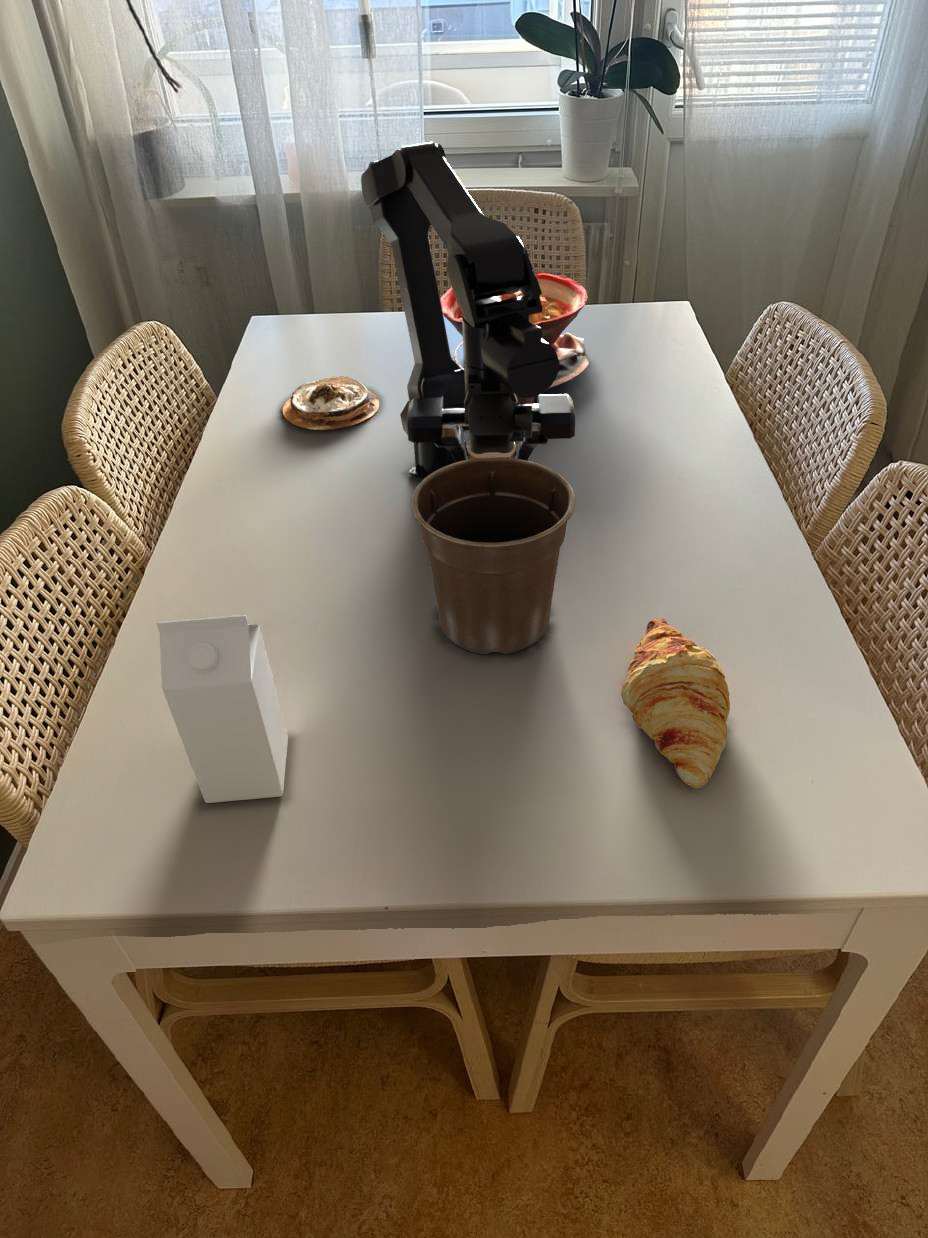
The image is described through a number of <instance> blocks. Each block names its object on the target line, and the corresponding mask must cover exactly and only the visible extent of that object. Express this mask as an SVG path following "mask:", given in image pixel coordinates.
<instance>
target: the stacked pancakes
mask: <svg viewBox="0 0 928 1238" xmlns="http://www.w3.org/2000/svg"><path fill="white" fill-rule="evenodd" d="M379 408H380V400H379V398H378V396H377V395H376V394H375V393H374V392H373V391H371V390H369V389H368V388H367V387H366V386H365V385H364V384H363V383H362V382H360V380H357V379H356V378H353V377H351V376H346V375H345V376H344V375H339V376H331V377H324V378H321V379H319V380H314V381H309V382H306V383H302V384H301V385H299V386H296V387H294V389H293V391H292V392H291V395H290V397H289V398H288V400H286V401H285V403H284V405H283V407H282V414H283V417H284V418H285V419H286V420H287V421H288V422H289V423H290V424H292V425H294V426H297V427H300V428H304V429H308V430H314V431H315V430H318V431H319V430H320V431H321V430H322V431H325V430H337V429H342V428H349V427H352V426H354V425H356V424H361V422H362V423H363V422H364V421H366V420H368V419H369V418H371V417H372V416H373V415H375V414H376V413H377V411H378V409H379Z"/></svg>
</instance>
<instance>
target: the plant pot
mask: <svg viewBox="0 0 928 1238" xmlns="http://www.w3.org/2000/svg"><path fill="white" fill-rule="evenodd" d="M412 494H413V495H412V499H411V509H412V513H413V515H414V518H415V520H416V521H417V523H418V525H419V529H420V534H421V539H422V543H423V544H424V547H425V548H426V549H427V554H428V560H429V566H430V571H431V577H432V582H433V588H434V594H435V599H436V607H437V611H438V619H439V624H440V628H441V630H442V632H443V634H444V635H445V636H446V637H447V639H448V640H450V641H451V642H452V643H453V644H455V645H456V646H458V647H460V648H462V649H464V650H466V651H468V652H471V653H475V654H480V655H486V656H487V655H489V654H491V653H501V654H503V655H509V654H513V653H514V654H515V653H516V652H520V651H522V650H523V651H524V650H525V649H527V648H529V647H531V646H533V645H534V644H535V643H536V642H537V641H539V640H540V639H541V638H542V637H543V635H544V634H545V633H546V631H547V629H548V628H549V625H550V617H551V610H552V603H553V602H552V601H553V595H554V589H555V582H556V578H557V577H556V576H557V570H558V566H559V565H558V564H559V560H560V553H561V547H563V546H562V545H563V544H564V542H565V539H566V534H567V527H568V521H570V519H571V517H572V515H573V513H574V510H575V505H576V496H575V495H576V494H575V491H574V490H573V487H572V486H571V484H570V482H569V481H568V480H567V479H565V477H563V476H562V475H561V474H560V473H558V472H557V471H555V470H553V469H551V468H549V467H547V466H545V465H543V464H541V463H537V462H535V461H534V462H533V461H530V460H528V461H526V460H521V459H515V458H505V457H484V458H476V459H469V460H468V459H467V460H465V461H461V462H457V463H453V464H451V465H448V466H445V467H443V468H441V469H439V470H437V471H435V472H433V473H432V474H430V475H429V476H427V477H426V478H425V479H422V480H421V482H420V483H418V485H417V486H416V488H415V489H414V491H413V493H412Z"/></svg>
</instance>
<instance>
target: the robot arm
mask: <svg viewBox="0 0 928 1238" xmlns="http://www.w3.org/2000/svg"><path fill="white" fill-rule="evenodd" d="M360 185H361V192H362V197H363V201H364V203H365V205H366V206H367V207H369V210H370V215H371V218H372V222H373V224H374V225H375V226H376V227H377V228H378V230H379V231H380V232H381V233H382V234H383V235H384V236H385V237H386V239H387V240H388V241H389V243H390V245H391V250H392V256H393V261H394V266H395V271H396V275H397V281H398V286H399V290H400V296H401V301H402V305H403V311H404V316H405V321H406V326H407V331H408V335H409V342H410V345H411V350H412V355H413V361H414V364H413V367H412V369H411V373H410V376H409V378H408V382H407V385H406V390H407V395H408V400H407V402H406V404H405V406H403V409H402V410H401V412H400V422H401V425H402V430H403V431H404V433H405V434H406V435H407V441H409V442H410V443H413V453H414V466H413V467H411V468H410V469H409V470H408V473H409V475H410V476H413V477H417V478H419V479H422V480H424V479H425V478H426V477H427V476H429V475H430V474H432V473H433V472H435V471H437V470H439V469H441V468H443V467H445V466H448V465H451V464H453V463H457V462H461V461H465V460H468V457H467V446H468V444H469V447H470V450H471V451H472V452H473V453H475V454H483V453H492V452H500V453H509V452H511V451H512V450H513V449H514V443H517V444H516V447H517V454H516V459H521V460H526V461H529V459H530V457H531V455H532V454H533V452H534V450H535V449H537V448H538V447H539V446H541V445H544V446H545V445H547V444H548V443H549V440H569V439H570V440H571V439H573V438H574V437H576V413H575V407H574V400H573V399H572V397H571V396H570V395H569V394H568V393H564V394H562V393H559V394H544V393H545V392H547V390H548V389H550V388H551V387H550V386H551V385H552V384H553V382H554V381H555V379H556V377H557V374H558V371H559V359H558V356H557V353H556V351H555V350H554V348H553V347H552V346H551V345H549V344H548V343H547V342H546V341H544V340H543V339H542V330H541V328H539V327H538V326H537V325H535V324H532V323H530V322H529V315H533V314H537V313H542V310H543V309H542V304H541V301H540V296H541V294H542V291H541V288H540V286H539V283H538V280H537V277H536V275H535V272H536V271H535V270H534V269H535V268H534V266H533V264H532V261H531V258H530V255H529V253H528V249H527V247H526V246H525V245H524V243H523V242H522V240H521V239H520V237H519V236H518V235H517V234H516V233H514V231H513V230H512V229H511V228H510V227H509V226H508V225H506V224H505V223H504V222H502V221H500V220H496V219H494V218H491V217H489V216H486V215H484V214H483V212H482V211H481V209H480V208H479V207H478V205H477V204H476V202H475V201H474V199H473V198H472V196H471V195H470V194H469V192H468V190H467V189H466V188H465V186H464V185H463V183H462V182H461V180H460V179H459V177H458V176H457V175H456V172H455V171H454V170H453V169H452V167H451V166H450V164H449V163H448V162H447V156H446V153H445V150H444V147H443V145H442V144H440V143H435V142H434V141H430V142H424V143H423V142H422V143H416V144H411V145H403V146H401V147H400V149H396V150H395V151H393V153H392V154H391V155H388V156H386V157H384V158H382V159H380V160H375V161H370V162H369V164H368V167H367V168H366V170H364V172H363V173H362V175H361V179H360ZM431 227H432V228H433V229H434V231H435V232H436V234H437V236H438V237H439V239H440V241H441V242H442V244H443V245H444V247H445V249H446V251H447V261H446V273H447V277H448V282H449V284H450V286H451V288H452V289H453V292H454V294H455V296H456V299H457V305H458V306H459V307H460V308H461V310H462V327H463V336H462V342H463V345H462V351H463V353H462V354H463V369H461V368H460V367H459V366H458V364H457V363H456V362H455V361H454V358H452V354H451V350H450V344H449V337H448V333H447V328H446V323H445V317H444V315H443V311H442V306H441V301H440V300H441V297H440V296H441V295H440V291H439V285H438V280H437V274H436V269H435V263H434V258H433V252H432V248H431V247H432V246H431V242H430V237H429V233H430V229H431ZM519 290H521V292H522V294H523V296H521V297H516V298H511V299H506V300H500V299H498V298H497V297H498V296H502V295H507V294H512V293H516V292H519ZM549 387H550V388H549ZM516 395H518V396H519V397H523V398H533V397H534V398H536V397H537V403H533V404H521V402H517V397H516ZM465 432H468V442H469V443H468V444H467V441H465V435H464V433H465Z"/></svg>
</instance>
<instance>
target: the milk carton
mask: <svg viewBox="0 0 928 1238" xmlns="http://www.w3.org/2000/svg"><path fill="white" fill-rule="evenodd" d="M156 627H157V629H158V633H159V649H160V675H161V689H162V691H163V694H164V698H165V700H166V702H167V706H168V708H169V711H170V713H171V717H172V718H173V721H174V723H175V726H176V729H177V733H178V734H179V737H180V739H181V742H182V745H183V748H184V751H185V753H186V755H187V758H188V761H189V764H190V767H191V769H192V771H193V774H194V777H195V780H196V782H197V785H198V787H199V790H200V793H201V795H202V799H203V801H204V803H206V804H210V803H211V804H214V803H222V802H223V803H225V802H234V801H245V800H246V801H247V800H256V799H268V798H269V799H270V798H279V797H283V795H284V791H285V790H284V787H285V777H286V766H287V755H288V745H289V744H288V743H289V736H288V731H287V727H286V724H285V719H284V716H283V715H284V714H283V712H282V708H281V704H280V700H279V696H278V692H277V689H276V684H275V681H274V680H275V679H274V676H273V672H272V669H271V668H272V667H271V665H270V662H269V661H270V660H269V657H268V653H267V649H266V645H265V642H264V641H265V640H264V638H263V633H262V629H261V626H260V624H259V623H252V624H251V623H250V624H249V621H248V617H247V615H246V613H245V614H235V615H232V614H231V615H221V616H210V617H196V618H185V619H173V620H163V621H161V620H160V621H156Z"/></svg>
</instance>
